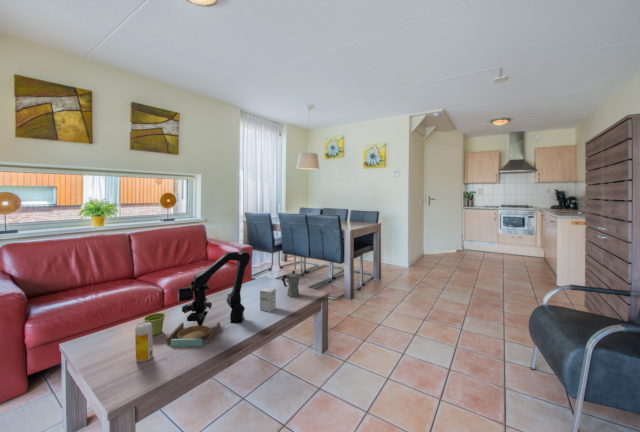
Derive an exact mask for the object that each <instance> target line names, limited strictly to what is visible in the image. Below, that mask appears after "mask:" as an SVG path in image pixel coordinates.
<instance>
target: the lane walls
mask: <svg viewBox="0 0 640 432" xmlns="http://www.w3.org/2000/svg"><path fill="white" fill-rule="evenodd" d="M184 326H185V324H184V322H181V323H180V324H179V325H178V326H177V327H176V328H175V329H174V330H173V331H172V332H171V333H170V334H168V335H167V336H166V338H165V343H166V345H169V344H171V339H176V337H178V336H177V335H178V333H179V332H180V331H181V330H182V329H185V327H184ZM220 328H221V322H217V324H215V326H214V327H213V329H212V331H210V332H209V334H208V335H207V336H206V337H207V339H206V340H207V344H211V342H212V341H213V339H214V338H215V336H216V335H217V333H218V331H220Z"/></svg>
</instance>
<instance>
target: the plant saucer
mask: <svg viewBox="0 0 640 432" xmlns="http://www.w3.org/2000/svg"><path fill="white" fill-rule="evenodd" d="M210 333H211V329H210V327H209V326H206V325H202V326H198V325H192V326H189V327H184V328H183V330H181V331H180V332H179V333H178V335H177V336H176V337H177V339H202V340H203V339H205V338H206V337H208V335H209V334H210Z"/></svg>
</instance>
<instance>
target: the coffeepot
mask: <svg viewBox="0 0 640 432" xmlns="http://www.w3.org/2000/svg"><path fill="white" fill-rule="evenodd" d="M302 275H303V274H302V273H295V271H294V270H292V273H288V274H287V273H286V274H285V275H283V276H282V278H281V280H282V283H283V286H284V287H288V288H287V294H286V296H287V297H288V296H289V297H288V298H292V297H294V298H298V297H300V289H299V282H300V277H301V276H302ZM285 279H287V281H288V284H287V283H286V280H285ZM297 296H298V297H297Z"/></svg>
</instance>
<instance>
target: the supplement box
mask: <svg viewBox="0 0 640 432" xmlns="http://www.w3.org/2000/svg"><path fill="white" fill-rule="evenodd" d="M276 293H277V289H276V288H272V287H264V288H262V289H261V290H259V310H260V311H263V312H264V311H265V312H272V311H273V310H275V309H276V307H277V306H276V298H277V295H276Z"/></svg>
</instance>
